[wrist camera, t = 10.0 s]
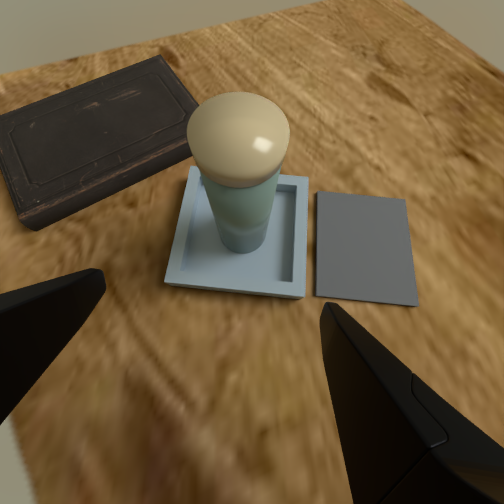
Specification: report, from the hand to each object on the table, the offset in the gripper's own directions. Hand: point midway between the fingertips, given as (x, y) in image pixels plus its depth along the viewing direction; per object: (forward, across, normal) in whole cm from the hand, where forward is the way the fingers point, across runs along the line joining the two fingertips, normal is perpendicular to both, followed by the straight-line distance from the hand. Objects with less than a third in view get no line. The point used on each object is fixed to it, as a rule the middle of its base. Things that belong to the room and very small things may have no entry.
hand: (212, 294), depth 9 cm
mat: (+16, -13, +3) cm, 21 cm away
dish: (+16, 0, +4) cm, 16 cm away
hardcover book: (+24, +19, -3) cm, 30 cm away
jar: (+15, 0, +3) cm, 16 cm away
